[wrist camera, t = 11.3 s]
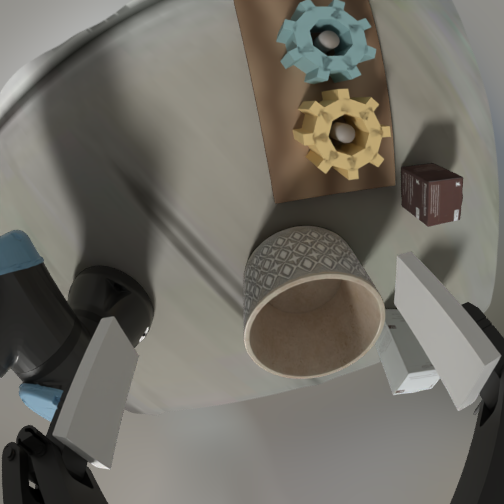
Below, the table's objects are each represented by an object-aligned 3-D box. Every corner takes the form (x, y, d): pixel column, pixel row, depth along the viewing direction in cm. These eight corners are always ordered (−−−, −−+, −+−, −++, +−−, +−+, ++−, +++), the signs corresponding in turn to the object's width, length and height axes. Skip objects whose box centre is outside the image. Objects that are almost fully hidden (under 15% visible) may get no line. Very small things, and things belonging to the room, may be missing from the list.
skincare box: (414, 307, 46) (451, 365, 33) (403, 331, 49) (433, 389, 36) (376, 308, 46) (410, 373, 33) (366, 333, 49) (393, 398, 36)
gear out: (318, 179, 33) (332, 194, 28) (279, 115, 30) (286, 117, 24) (378, 144, 31) (401, 153, 26) (344, 80, 28) (363, 76, 22)
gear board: (274, 198, 36) (280, 219, 30) (234, 3, 24) (231, -19, 18) (388, 181, 35) (414, 197, 29) (360, -3, 23) (382, -20, 17)
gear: (285, 87, 28) (294, 83, 23) (270, 17, 24) (275, 0, 19) (359, 81, 28) (381, 78, 22) (345, 14, 23) (364, 0, 18)
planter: (372, 270, 42) (406, 324, 31) (295, 331, 48) (306, 392, 36) (304, 197, 37) (331, 241, 25) (220, 276, 42) (212, 340, 31)
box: (399, 165, 34) (428, 180, 28) (433, 162, 34) (464, 176, 28) (400, 206, 37) (426, 227, 31) (433, 201, 37) (461, 220, 30)
